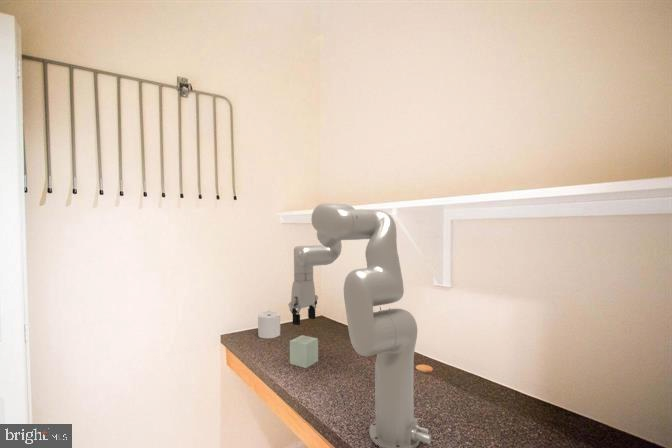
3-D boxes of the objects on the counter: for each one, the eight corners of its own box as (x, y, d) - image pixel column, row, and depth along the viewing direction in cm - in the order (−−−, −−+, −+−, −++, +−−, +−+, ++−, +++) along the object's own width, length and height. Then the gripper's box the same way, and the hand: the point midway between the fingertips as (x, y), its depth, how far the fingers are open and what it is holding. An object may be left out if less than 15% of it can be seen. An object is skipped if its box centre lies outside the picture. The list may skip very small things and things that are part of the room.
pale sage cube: (318, 360, 128) (317, 338, 128) (306, 368, 121) (305, 344, 121) (302, 356, 132) (302, 335, 132) (289, 363, 126) (289, 340, 126)
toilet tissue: (265, 340, 152) (264, 318, 152) (252, 334, 161) (252, 314, 161) (284, 335, 159) (284, 314, 159) (271, 329, 168) (271, 310, 168)
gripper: (309, 274, 136) (309, 315, 136) (281, 279, 122) (282, 325, 121) (324, 275, 133) (324, 317, 132) (297, 280, 118) (297, 328, 117)
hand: (304, 321), depth 127 cm, fingers open, 9 cm apart
